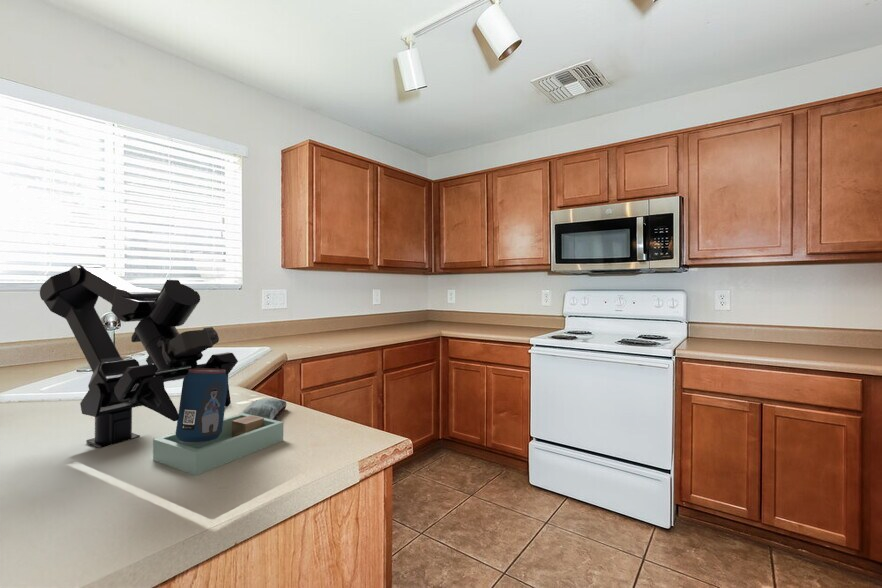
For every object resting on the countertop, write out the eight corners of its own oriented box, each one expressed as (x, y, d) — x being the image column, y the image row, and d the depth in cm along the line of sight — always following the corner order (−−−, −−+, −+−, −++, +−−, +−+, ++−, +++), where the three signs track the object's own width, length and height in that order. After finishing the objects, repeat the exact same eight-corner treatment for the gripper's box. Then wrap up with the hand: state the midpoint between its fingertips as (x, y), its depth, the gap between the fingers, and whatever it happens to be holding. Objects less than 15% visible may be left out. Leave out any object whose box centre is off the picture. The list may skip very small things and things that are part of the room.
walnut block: (231, 441, 76) (231, 420, 76) (250, 435, 80) (250, 415, 80) (245, 445, 75) (245, 424, 75) (263, 438, 78) (263, 418, 78)
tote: (153, 465, 68) (153, 439, 68) (242, 434, 83) (242, 413, 83) (195, 481, 62) (195, 452, 62) (283, 445, 78) (283, 422, 78)
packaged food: (231, 431, 86) (231, 408, 86) (251, 414, 97) (251, 394, 97) (273, 430, 86) (273, 408, 86) (288, 414, 98) (288, 394, 98)
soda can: (192, 433, 73) (200, 367, 74) (229, 436, 72) (237, 369, 74) (164, 443, 66) (175, 369, 67) (205, 446, 65) (215, 372, 67)
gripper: (124, 316, 62) (169, 394, 57) (231, 311, 79) (272, 371, 74) (96, 363, 65) (136, 440, 61) (204, 348, 82) (242, 408, 78)
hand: (204, 411), depth 68 cm, fingers open, 9 cm apart
